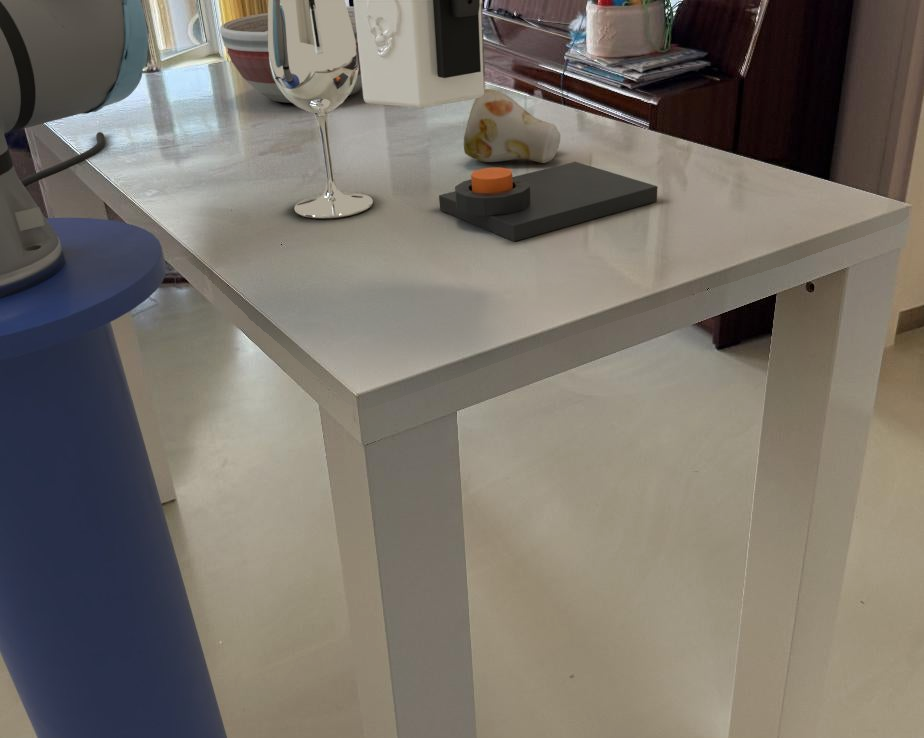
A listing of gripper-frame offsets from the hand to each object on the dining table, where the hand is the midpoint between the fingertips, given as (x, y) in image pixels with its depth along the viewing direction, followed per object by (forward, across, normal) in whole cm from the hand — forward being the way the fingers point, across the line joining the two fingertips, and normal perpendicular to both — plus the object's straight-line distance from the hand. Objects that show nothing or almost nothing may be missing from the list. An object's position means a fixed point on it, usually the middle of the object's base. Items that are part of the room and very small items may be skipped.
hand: (423, 64), depth 64 cm
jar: (+2, 0, 0) cm, 2 cm away
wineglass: (+16, +26, -4) cm, 31 cm away
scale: (+16, +12, -19) cm, 28 cm away
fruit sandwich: (+16, +28, -26) cm, 41 cm away
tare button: (+13, +12, -13) cm, 22 cm away
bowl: (+17, +76, -25) cm, 82 cm away
